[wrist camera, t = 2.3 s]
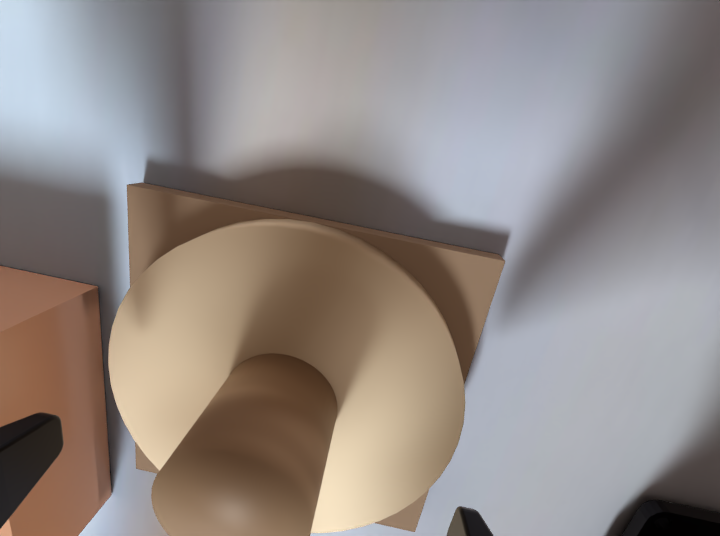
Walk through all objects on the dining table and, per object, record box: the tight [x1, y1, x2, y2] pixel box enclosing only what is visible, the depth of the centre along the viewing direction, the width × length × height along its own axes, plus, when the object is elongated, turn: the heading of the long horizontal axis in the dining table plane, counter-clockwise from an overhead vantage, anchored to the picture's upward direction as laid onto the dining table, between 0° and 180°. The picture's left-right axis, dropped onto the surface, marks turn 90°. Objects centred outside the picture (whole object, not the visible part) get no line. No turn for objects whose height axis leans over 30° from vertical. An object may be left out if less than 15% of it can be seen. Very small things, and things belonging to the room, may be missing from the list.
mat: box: [127, 183, 505, 532], centre depth 11 cm, size 10×10×1 cm
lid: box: [108, 219, 465, 536], centre depth 9 cm, size 10×10×4 cm
